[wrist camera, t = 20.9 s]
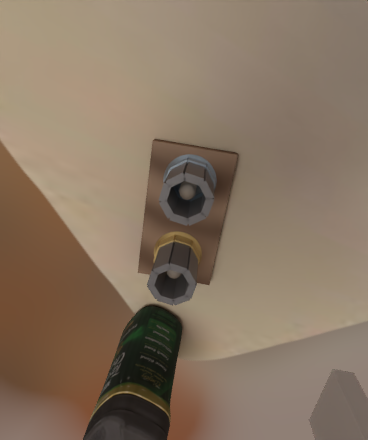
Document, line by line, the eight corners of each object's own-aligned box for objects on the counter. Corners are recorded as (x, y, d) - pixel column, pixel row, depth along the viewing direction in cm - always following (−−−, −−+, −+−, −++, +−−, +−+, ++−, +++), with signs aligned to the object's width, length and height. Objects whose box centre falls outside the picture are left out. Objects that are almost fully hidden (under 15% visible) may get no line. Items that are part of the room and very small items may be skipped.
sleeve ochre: (186, 229, 39) (182, 255, 32) (205, 264, 40) (205, 295, 34) (149, 245, 40) (137, 274, 34) (168, 278, 42) (161, 312, 35)
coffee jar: (147, 295, 45) (109, 416, 28) (190, 322, 46) (180, 454, 29) (115, 335, 48) (63, 466, 31) (156, 359, 50) (128, 497, 32)
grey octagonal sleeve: (201, 150, 35) (199, 162, 28) (221, 192, 37) (224, 212, 30) (158, 171, 36) (147, 187, 30) (180, 211, 38) (174, 234, 31)
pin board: (154, 139, 36) (143, 147, 30) (236, 152, 36) (242, 164, 30) (140, 266, 43) (128, 295, 37) (209, 279, 43) (209, 309, 37)
